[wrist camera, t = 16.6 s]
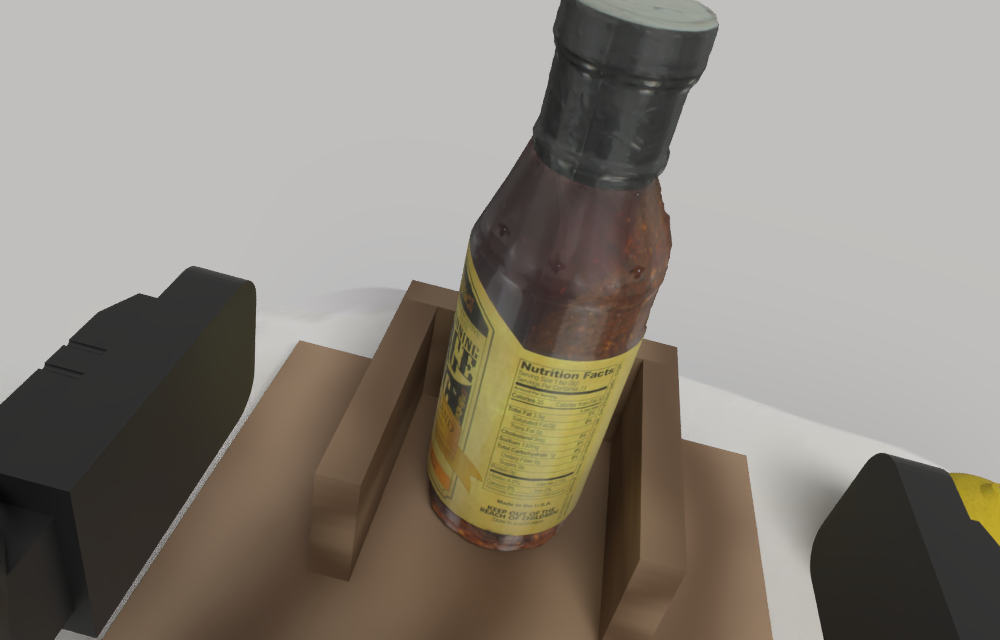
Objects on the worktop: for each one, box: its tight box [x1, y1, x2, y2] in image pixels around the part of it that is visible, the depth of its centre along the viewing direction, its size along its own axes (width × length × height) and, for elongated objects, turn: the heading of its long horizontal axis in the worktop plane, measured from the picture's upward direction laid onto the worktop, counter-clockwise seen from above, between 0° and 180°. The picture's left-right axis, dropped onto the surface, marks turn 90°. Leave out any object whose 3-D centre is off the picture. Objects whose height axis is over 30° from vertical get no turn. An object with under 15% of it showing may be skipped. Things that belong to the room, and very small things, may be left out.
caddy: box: [102, 280, 773, 640], centre depth 28 cm, size 22×18×6 cm
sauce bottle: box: [427, 0, 719, 551], centre depth 25 cm, size 7×6×20 cm
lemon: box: [949, 473, 1000, 546], centre depth 30 cm, size 6×6×8 cm
